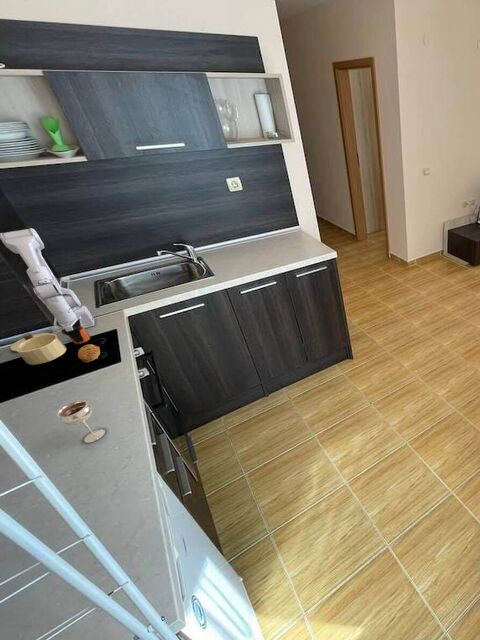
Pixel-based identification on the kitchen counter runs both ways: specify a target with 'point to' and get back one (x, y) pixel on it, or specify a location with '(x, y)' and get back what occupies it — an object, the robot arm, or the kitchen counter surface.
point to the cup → (84, 335)
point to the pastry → (88, 353)
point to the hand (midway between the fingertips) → (80, 337)
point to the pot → (41, 349)
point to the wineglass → (79, 418)
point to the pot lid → (25, 337)
